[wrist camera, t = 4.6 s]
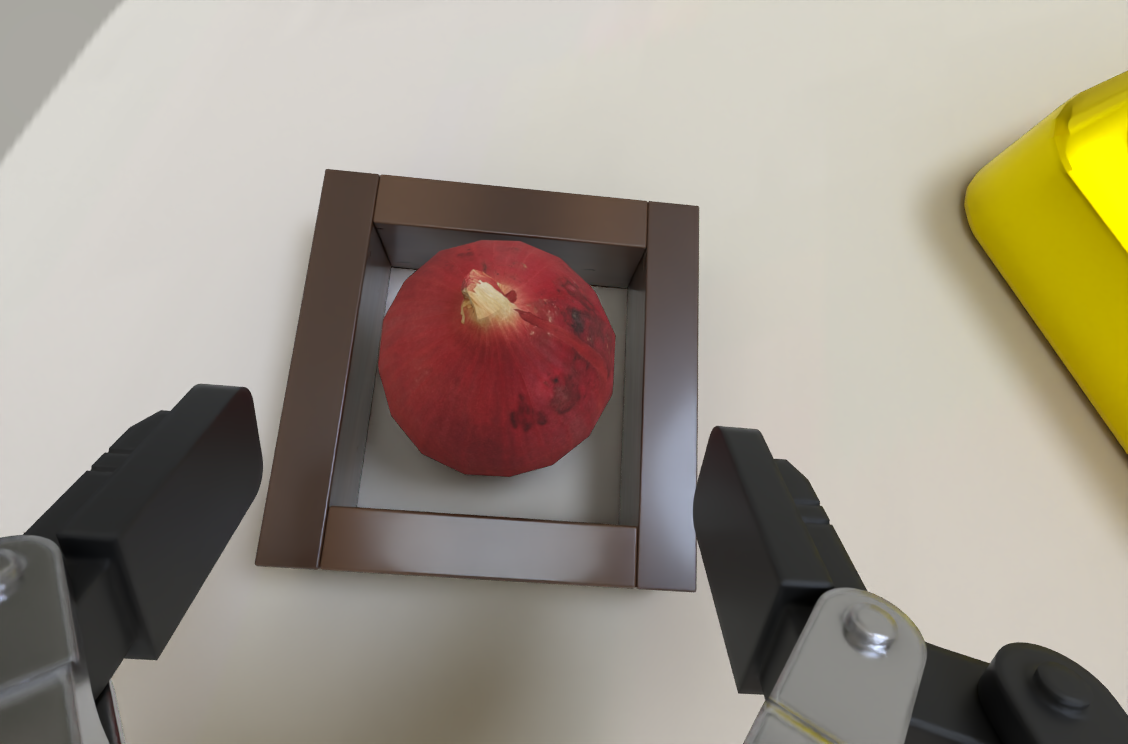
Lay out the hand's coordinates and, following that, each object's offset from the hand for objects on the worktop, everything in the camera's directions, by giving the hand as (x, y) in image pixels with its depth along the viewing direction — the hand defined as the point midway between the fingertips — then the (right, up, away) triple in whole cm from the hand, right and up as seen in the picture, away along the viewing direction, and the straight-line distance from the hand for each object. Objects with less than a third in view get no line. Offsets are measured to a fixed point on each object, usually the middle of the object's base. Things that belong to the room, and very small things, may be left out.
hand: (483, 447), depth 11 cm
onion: (-1, +1, +8) cm, 9 cm away
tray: (0, +1, +8) cm, 8 cm away
